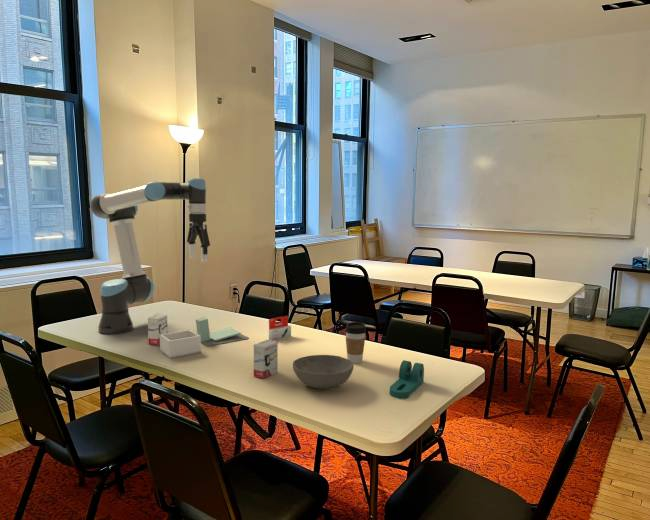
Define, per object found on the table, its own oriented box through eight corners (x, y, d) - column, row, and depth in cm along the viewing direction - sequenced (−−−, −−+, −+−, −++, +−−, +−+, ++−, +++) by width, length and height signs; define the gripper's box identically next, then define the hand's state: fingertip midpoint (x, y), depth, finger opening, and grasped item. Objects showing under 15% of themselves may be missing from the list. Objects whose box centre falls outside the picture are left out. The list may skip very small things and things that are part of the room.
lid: (195, 339, 222) (192, 317, 220) (230, 329, 232) (227, 308, 230) (205, 345, 214) (202, 322, 212) (240, 335, 224) (238, 313, 222)
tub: (160, 350, 205) (159, 334, 204) (190, 345, 213) (190, 329, 212) (169, 358, 196) (169, 341, 195) (200, 352, 204) (200, 335, 203)
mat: (193, 337, 224) (192, 336, 224) (233, 330, 236) (233, 329, 236) (207, 346, 212) (207, 345, 212) (249, 338, 224) (249, 337, 224)
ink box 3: (291, 336, 228) (291, 316, 227) (271, 341, 221) (271, 320, 219) (288, 335, 230) (288, 315, 229) (268, 340, 223) (268, 319, 221)
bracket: (405, 378, 179) (406, 358, 178) (423, 382, 176) (424, 361, 175) (386, 396, 164) (387, 373, 163) (405, 400, 160) (406, 377, 159)
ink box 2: (263, 379, 176) (263, 347, 174) (252, 376, 179) (252, 344, 177) (278, 372, 183) (278, 341, 182) (267, 369, 186) (267, 339, 184)
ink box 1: (158, 345, 212) (157, 318, 211) (148, 344, 213) (147, 317, 212) (168, 339, 221) (167, 313, 219) (158, 338, 222) (157, 313, 220)
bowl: (281, 391, 166) (282, 368, 165) (305, 370, 185) (305, 350, 184) (342, 401, 158) (342, 377, 157) (360, 379, 178) (360, 357, 177)
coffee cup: (367, 359, 199) (368, 323, 197) (362, 366, 191) (363, 328, 189) (347, 356, 202) (348, 320, 199) (341, 363, 194) (342, 326, 192)
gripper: (179, 212, 230) (180, 257, 233) (200, 214, 211) (201, 263, 214) (194, 211, 235) (195, 256, 238) (217, 214, 215) (217, 262, 218)
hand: (198, 259), depth 226 cm, fingers open, 13 cm apart
